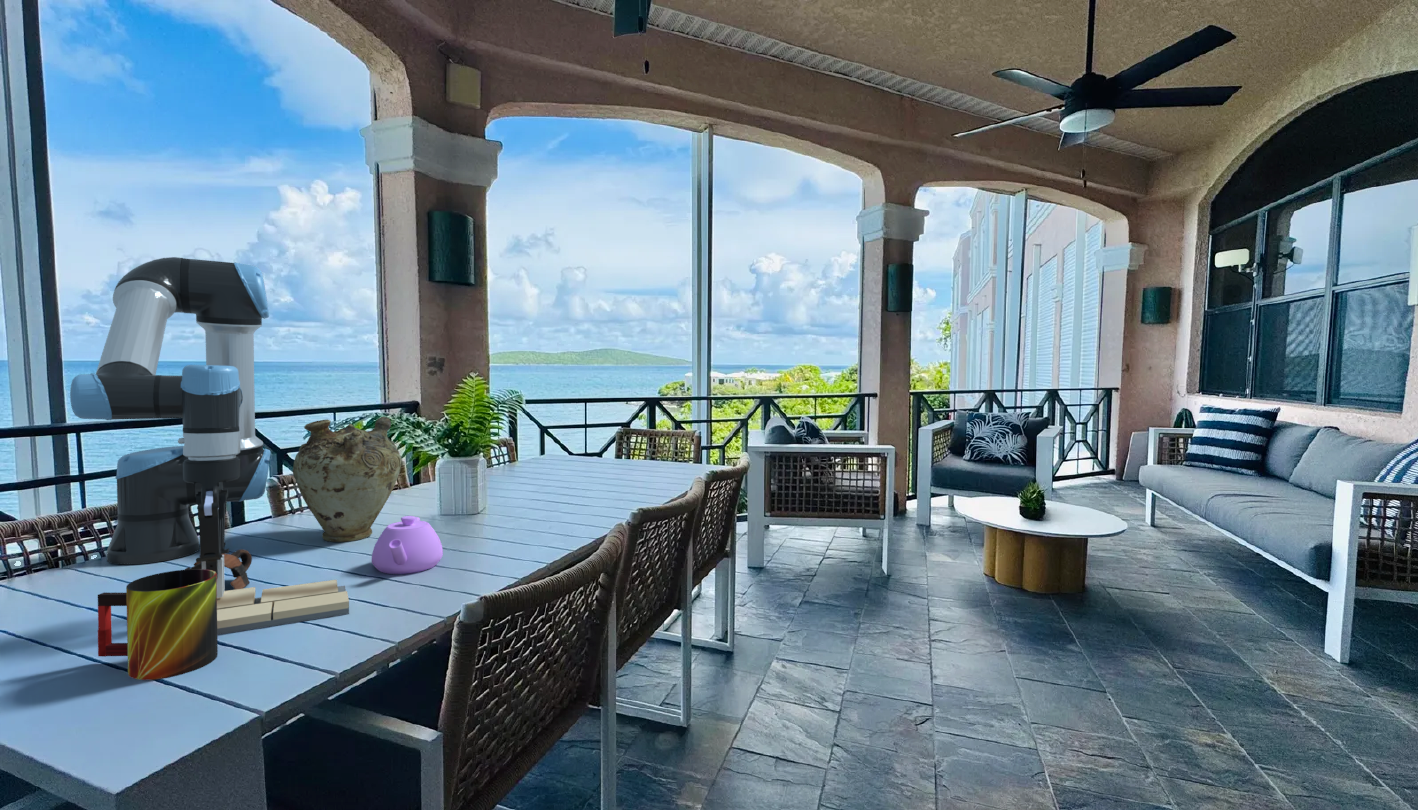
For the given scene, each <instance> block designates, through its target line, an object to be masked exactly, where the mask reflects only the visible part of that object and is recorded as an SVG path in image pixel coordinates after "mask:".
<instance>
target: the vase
mask: <svg viewBox="0 0 1418 810" xmlns="http://www.w3.org/2000/svg"><path fill="white" fill-rule="evenodd" d="M330 424H331V420H330V419H327V418H326V419H322V420H321V419H320V420H316V421H312V422H308V423H307V424H305V425H304V426H303V427H304V429H305V430H306V431H308V432H310V435H309V437H308V439H307V441H306V443H302V444H301V446H300V447H299V448H298V452H297V453H296V455H295V457H294V460H293V466H292V467H293V468H292V475H293V478H294V479H295V481H296V485H297V487H298V490H299V493H300V495H301V497H302V498H303V501H304V502H305V504H306V506H307V507H308V510H310V513H311V514H312V515H313V517H314V518H315V520H316V521H317V522H318V524H319V525H320V527H321V529H322V530H323V532H322V535H321V537H322V539H323V540H324V541H326V542H331V543H344V542H353V541H360V540H362V539H366V538H368V537H371V536H372V534H373V529H372V526H373V525H374V523H375V522H376V519H377V518H378V516H379V514H380V513H381V511H382V509H383V508H384V506H385V505H386V503H387V501H388V500H389V498H390V496H391V494H392V491H393V490H394V488H395V486H396V484H397V480H398V477H399V475H400V473H401V470H402V469H401V468H402V458H401V455H400V451H399V449H398V448H397V445H395V441H392V440H391V439H390V438H389V437H388V431H389V430H390V428H391V426H392V422H391V418H389V417H387V416H381V417H379V418H377V420H376V421H375V422H374V428H372V429H371V430H365V429H359V428H358V427H355V426H354V425H353V424H352V423H349V424H347V426H345V427H343V428H339V429H338V430H334V431H332V430H330V428H329V427H330Z"/></svg>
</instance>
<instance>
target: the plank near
mask: <svg viewBox="0 0 1418 810" xmlns="http://www.w3.org/2000/svg"><path fill="white" fill-rule="evenodd" d="M255 598H256V586H254V587H253V586H252V587H244V588H243V589H236V590H234V589H230V590H224V593H223V597H220V598H217V610H219V609H226V608H233V607H240V606H247V605H254V600H255Z"/></svg>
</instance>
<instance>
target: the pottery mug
mask: <svg viewBox="0 0 1418 810" xmlns="http://www.w3.org/2000/svg"><path fill="white" fill-rule="evenodd" d="M222 555H224V568H227V569H229V570H230V572H231V573H232V577H233V578H234V579H233V580H232V581H230V583H229V584H230V586H231V587H232V588H233V590H236V589H243V588H246V586H249V585H250V580H249V577H248V573H247V571H248V570H249V568H250V567H251V564H252V561H253V558H252V554H251V553H250V551H248V550H246V549H243V548H241V549H237V550H235V551H233V552H231V553H230V554H229V553H225V554H222ZM187 569H202V562H196V561H195V562H194V563H193V566H192V567H186V568H185V569H184V570H187Z"/></svg>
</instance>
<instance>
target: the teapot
mask: <svg viewBox="0 0 1418 810" xmlns="http://www.w3.org/2000/svg"><path fill="white" fill-rule="evenodd" d="M400 520H401V521H398V522H393V523H389V524H388V525H386V527H385V528H384V529H383V531H382V532H381V534H380V535H379V537H378V539H377V540H376V542H375V544H374V547H373V549H372V553H371V563H372V565H373V567H375V568H376V570H378V571H379V572H380V573H382V574H383V573H384V574H391V575H403V574H404V575H405V574H407V575H408V574H414V573H420V572H424V571H427V569H428V570H430V569H432V568H434V567H436V566H437V564H438V563H439V562H440V561H441V560H442V558H443V555H444V550H443V544H442V542H441V541H442V540H440V537H439V535H438V534H437V532H436V530H435V529H434V528H433V526H432V525H431V524H430V523H429V522H428V521H425V520H421V518H420V516H419V517H418V516H413V515H404V516H402V517H400Z"/></svg>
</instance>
